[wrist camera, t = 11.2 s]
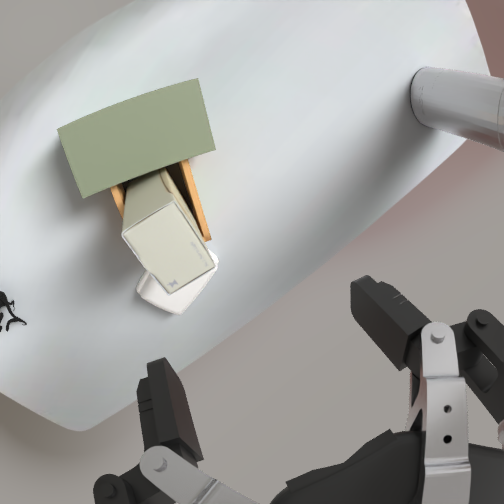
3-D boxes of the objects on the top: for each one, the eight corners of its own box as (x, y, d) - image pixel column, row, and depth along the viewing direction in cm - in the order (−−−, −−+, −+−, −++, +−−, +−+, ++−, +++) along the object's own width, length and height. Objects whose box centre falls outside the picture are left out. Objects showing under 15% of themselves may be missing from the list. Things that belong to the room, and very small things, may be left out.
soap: (178, 310, 39) (182, 325, 36) (131, 288, 35) (132, 303, 33) (221, 255, 37) (228, 268, 35) (174, 227, 33) (178, 238, 31)
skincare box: (191, 209, 33) (221, 268, 23) (155, 231, 32) (169, 299, 23) (161, 159, 29) (177, 198, 19) (123, 183, 29) (118, 235, 19)
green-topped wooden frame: (188, 80, 26) (197, 78, 22) (223, 216, 34) (237, 235, 30) (69, 123, 24) (56, 129, 20) (120, 254, 32) (120, 279, 28)
